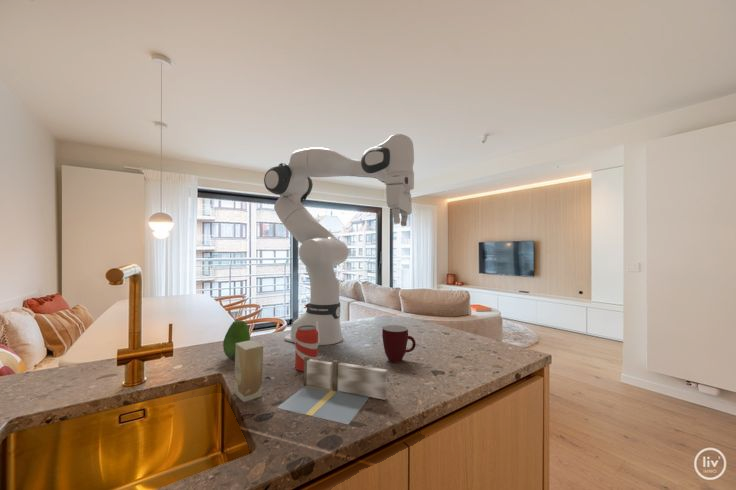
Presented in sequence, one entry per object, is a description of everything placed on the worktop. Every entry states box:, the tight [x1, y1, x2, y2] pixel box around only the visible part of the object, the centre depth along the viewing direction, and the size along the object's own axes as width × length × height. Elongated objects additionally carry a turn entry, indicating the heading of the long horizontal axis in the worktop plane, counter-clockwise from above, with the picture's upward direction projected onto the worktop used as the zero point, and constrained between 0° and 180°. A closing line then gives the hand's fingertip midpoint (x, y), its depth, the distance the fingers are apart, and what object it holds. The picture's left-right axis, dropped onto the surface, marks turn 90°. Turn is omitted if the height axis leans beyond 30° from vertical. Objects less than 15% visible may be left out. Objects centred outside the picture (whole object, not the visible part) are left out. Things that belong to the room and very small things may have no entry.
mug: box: [381, 324, 417, 363], centre depth 95 cm, size 11×8×10 cm
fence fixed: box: [303, 356, 339, 391], centre depth 75 cm, size 9×1×7 cm, turn 69°
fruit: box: [222, 319, 251, 361], centre depth 95 cm, size 8×8×12 cm
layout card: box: [276, 385, 370, 426], centre depth 69 cm, size 17×15×1 cm
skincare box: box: [233, 339, 264, 403], centre depth 71 cm, size 6×4×12 cm
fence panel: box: [338, 362, 388, 401], centre depth 71 cm, size 12×1×6 cm, turn 69°
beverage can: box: [294, 325, 319, 372], centre depth 87 cm, size 6×6×12 cm
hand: (400, 224), depth 100 cm, fingers open, 8 cm apart
